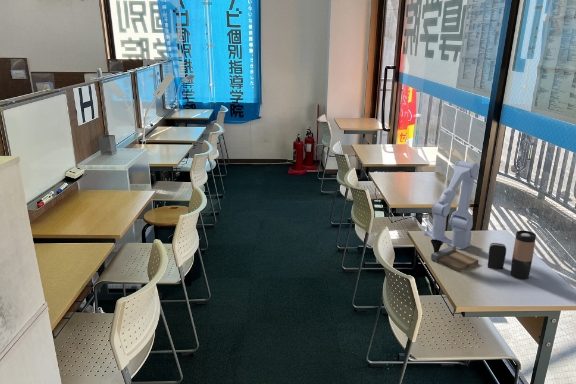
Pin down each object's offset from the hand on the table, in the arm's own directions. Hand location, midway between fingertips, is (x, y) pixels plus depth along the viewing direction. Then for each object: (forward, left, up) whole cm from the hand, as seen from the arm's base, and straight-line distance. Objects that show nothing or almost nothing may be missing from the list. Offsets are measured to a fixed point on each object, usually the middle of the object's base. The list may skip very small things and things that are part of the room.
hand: (436, 253), depth 212 cm
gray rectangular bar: (-2, +2, -2) cm, 3 cm away
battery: (-14, +22, -2) cm, 26 cm away
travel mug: (-15, +33, -2) cm, 36 cm away
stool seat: (-4, +8, -2) cm, 9 cm away
